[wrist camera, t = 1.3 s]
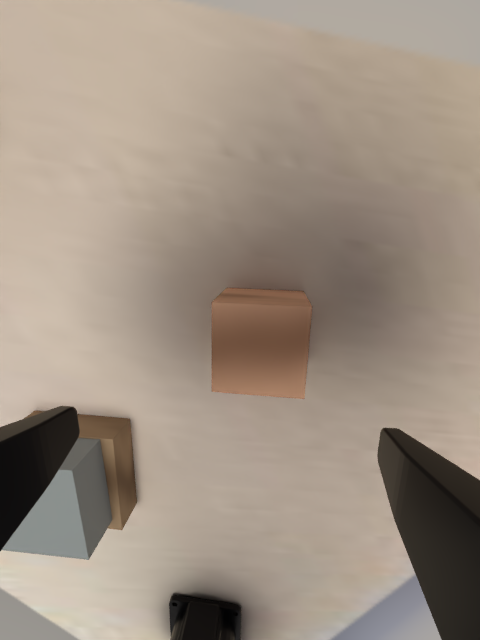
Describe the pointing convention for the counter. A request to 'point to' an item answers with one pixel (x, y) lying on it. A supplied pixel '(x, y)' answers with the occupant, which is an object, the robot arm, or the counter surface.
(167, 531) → the counter surface
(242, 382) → the terracotta cube
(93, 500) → the slate top slab
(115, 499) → the walnut base slab
